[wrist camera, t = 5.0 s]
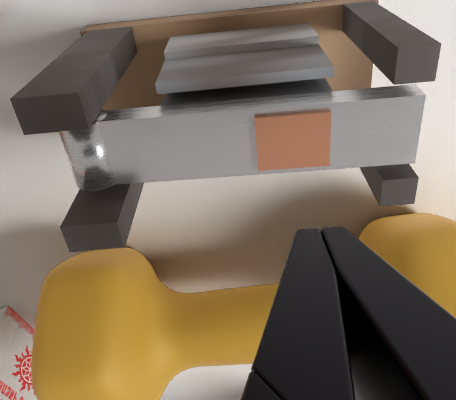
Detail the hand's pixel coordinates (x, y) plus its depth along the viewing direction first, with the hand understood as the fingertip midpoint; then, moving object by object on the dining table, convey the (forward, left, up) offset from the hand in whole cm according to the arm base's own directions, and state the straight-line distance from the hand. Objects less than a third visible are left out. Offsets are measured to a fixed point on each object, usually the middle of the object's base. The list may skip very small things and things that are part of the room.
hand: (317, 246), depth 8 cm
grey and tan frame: (0, +1, -11) cm, 11 cm away
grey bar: (0, +1, -6) cm, 6 cm away
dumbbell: (-11, +1, -12) cm, 16 cm away
